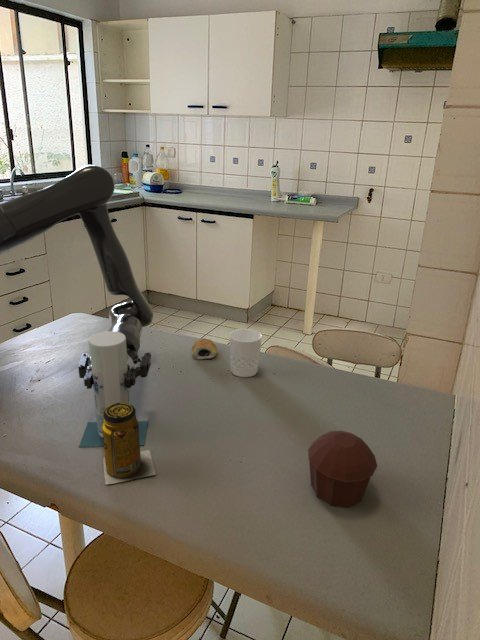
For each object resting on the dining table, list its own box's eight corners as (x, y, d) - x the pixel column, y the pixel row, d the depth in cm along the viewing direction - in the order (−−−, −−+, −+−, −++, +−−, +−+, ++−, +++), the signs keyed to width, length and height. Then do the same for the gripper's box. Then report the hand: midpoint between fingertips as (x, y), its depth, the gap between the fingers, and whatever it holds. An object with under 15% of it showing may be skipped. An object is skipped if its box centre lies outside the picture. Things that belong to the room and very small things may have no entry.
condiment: (102, 458, 84) (97, 401, 80) (149, 450, 87) (147, 395, 82) (105, 485, 78) (100, 426, 73) (156, 476, 80) (153, 417, 76)
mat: (78, 447, 87) (78, 446, 87) (87, 422, 94) (87, 421, 94) (143, 445, 88) (143, 445, 88) (147, 421, 95) (147, 420, 95)
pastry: (192, 344, 130) (193, 332, 128) (216, 345, 130) (217, 332, 129) (191, 360, 121) (191, 347, 120) (217, 360, 122) (217, 347, 120)
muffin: (304, 462, 85) (309, 416, 81) (365, 468, 84) (373, 422, 80) (305, 511, 74) (311, 460, 70) (376, 518, 73) (385, 467, 70)
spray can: (96, 423, 93) (88, 332, 85) (129, 418, 95) (124, 329, 87) (98, 442, 88) (89, 347, 80) (133, 437, 90) (127, 344, 82)
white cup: (235, 361, 121) (237, 326, 118) (264, 367, 119) (266, 332, 115) (223, 374, 115) (224, 337, 111) (253, 381, 112) (255, 344, 108)
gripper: (85, 328, 98) (65, 366, 83) (154, 328, 99) (147, 365, 84) (88, 360, 101) (70, 402, 85) (155, 359, 102) (149, 401, 87)
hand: (108, 384), depth 85 cm, fingers closed on spray can, 6 cm apart
